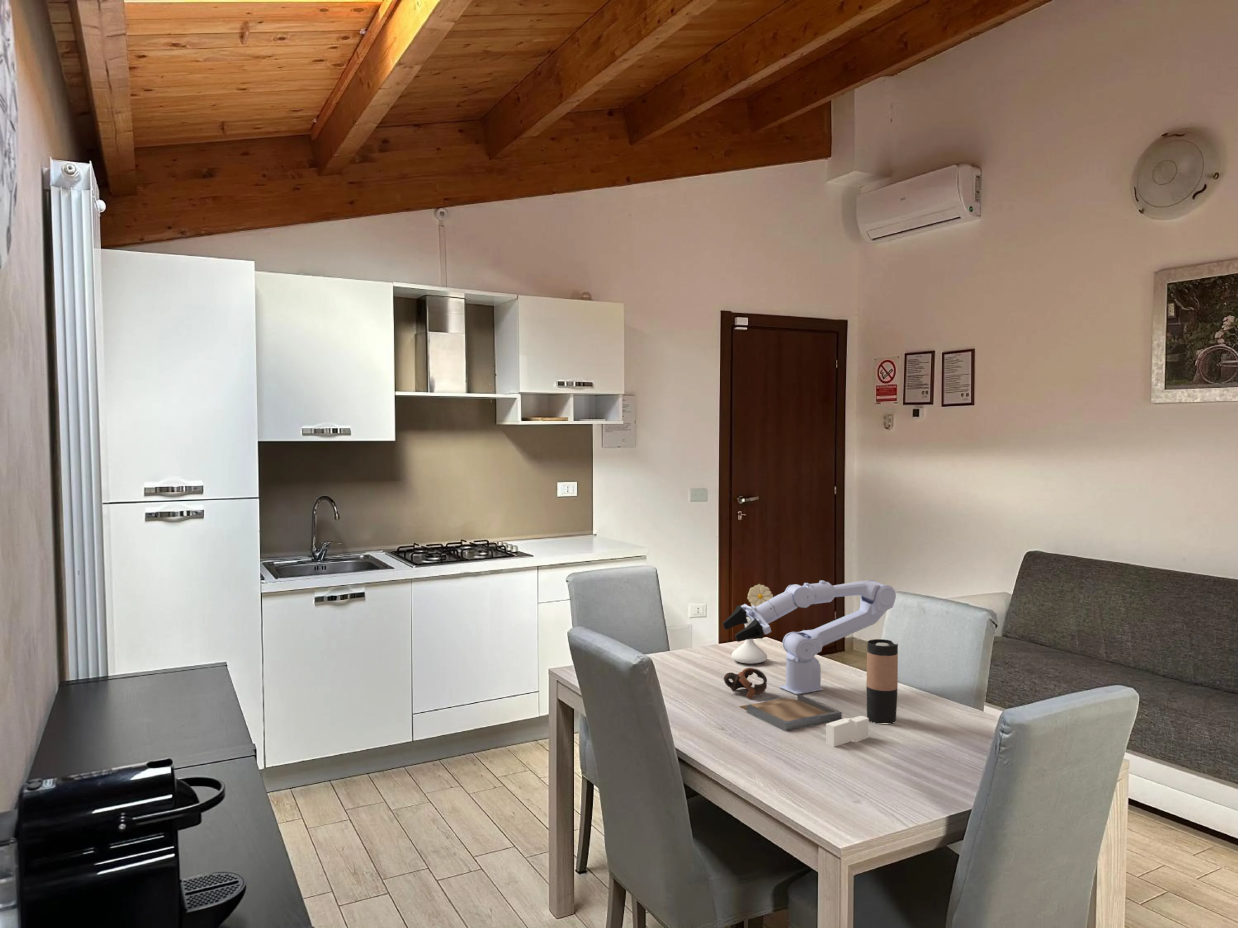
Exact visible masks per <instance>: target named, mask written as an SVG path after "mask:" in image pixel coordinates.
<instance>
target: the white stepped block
mask: <svg viewBox="0 0 1238 928" xmlns="http://www.w3.org/2000/svg"><path fill="white" fill-rule="evenodd" d="M869 722H870V721H869V718H867V716H862V715H859V716H855V717H852V718H851V717H847V718H846V717H844V718H843V717H842V719H840V720H837V721H833V722H829V723H825V744H826V745H828V746H830V747H832V748H835V747H838V746H840V745H843V744H847V743H849V742H851V743H858V742H861V741H864V740H867V739H869V731H870V730H869ZM866 738H867V739H866ZM863 739H864V740H863ZM860 740H861V741H860Z"/></svg>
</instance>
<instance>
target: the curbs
mask: <svg viewBox="0 0 1238 928" xmlns="http://www.w3.org/2000/svg"><path fill="white" fill-rule="evenodd" d="M796 695H797V694H796ZM796 700H799V701H802V702H804V703H806V704H809V705H811V706H813V707H816V708H818V709H820V710H823V711H825V712H827V713H825V714H820V715H815V716H810V717H805V718H800V719H795V720H790V721H785V720H783V719H780V718H778V717H776V716H774V715H772V714H770V713H768V712H765V711H763V710H761V709H759V708H757V707H755V706H752V705H750V704H751V703H749V704H746V705H747V710H746V713H747V714H749V715H751V716H753V717H756V718H758V719H760V720H762V721H764V722H766V723H768V724H770V725H773V726H774V727H776V728H778V729H781V730H783V731H785V732H791V731H795V730H799V729H805V728H809V727H814V726H819V725H823V724H827V723H830V722H834V721H837V720H840V719H843V712H842V711H840V710H838V709H835V708H833V707H831V706H829V705H825V704H823V703H821V702H819V701H816V700H813V699H812V698H809V697H807V696H804V695H803V694H798V695H797V699H796Z"/></svg>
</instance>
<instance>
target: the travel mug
mask: <svg viewBox="0 0 1238 928" xmlns="http://www.w3.org/2000/svg"><path fill="white" fill-rule="evenodd" d="M866 644H867V648H866V649H867V651H866V653H867V654H866V682H865V684H866V686H865V688H866V717H867V718H869V722H871V721H872V722H871V723H873V722H875V723H874V724H877V723H893V722H895V721H896V720H897V707H898V706H897V705H898V689H899V687H898V683H899V682H898V681H899V680H898V678H899V677H898V676H899V675H898V674H899V673H898V672H899V671H898V670H899V668H898V661H899V660H898V658H899V656H898V653H899V644H898V642H897V643H895V642H893V641H892V640H890V639H884V638H883V639H880V638H879V639H878V638H876V639H870V640H867V643H866ZM895 723H896V722H895ZM893 724H894V723H893Z"/></svg>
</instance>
